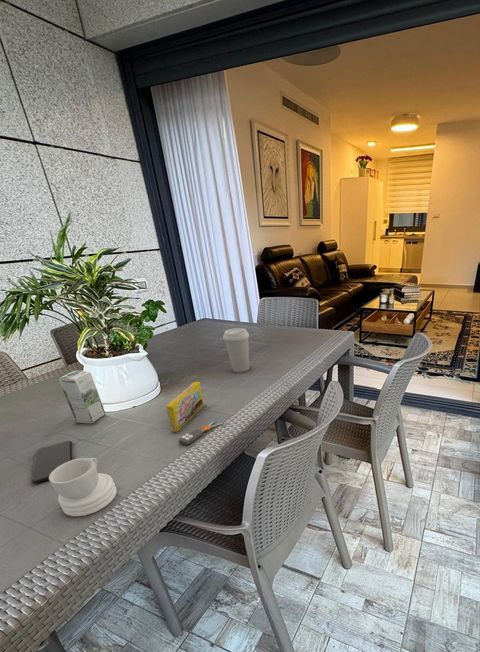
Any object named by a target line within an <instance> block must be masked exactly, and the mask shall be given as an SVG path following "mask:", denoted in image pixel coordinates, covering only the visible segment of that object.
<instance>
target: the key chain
mask: <svg viewBox="0 0 480 652" xmlns="http://www.w3.org/2000/svg"><path fill="white" fill-rule="evenodd" d="M214 423H215V422H214V421H211V422H210V423H208V424H207V425H203V426H202V427H200V429H194V430H192V431H191V432H188V433H186V434H184V435H182V436H181V437H180V438H178V443H180V444H182V445H184V446H187V445H189V444H191V443H193V442H194V441H195V440H197V439H199V438H200V437H201V436H202V435H203V434H204V432H205V431H209V430H211V428H214V427H217V426H220V425H222V424H224V422H220V423H216V424H214Z"/></svg>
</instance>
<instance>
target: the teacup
mask: <svg viewBox="0 0 480 652" xmlns="http://www.w3.org/2000/svg"><path fill="white" fill-rule="evenodd" d="M97 466H98V459H97V458H95V457H89V458H88V457H80V458H75V459H72V460H71V461H69V462H66V463H64V464H62V465H60V466H59V467H57V468H56V469H55V470H53V471H52V472H51V474H50V476H49V480H48V481H49V483H50V484H51V486H52V487H53V489H54V490H55V492H56V493H57V494H58V496H59V495H61V496H63V497H65V498H69V499H75V498H81V497H84V496H86V495H88V494H89V493H90V492H92V491H93V490H94V489H95V487H96V486H97V484H98V480H99V477H98V470H97Z"/></svg>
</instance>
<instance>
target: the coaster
mask: <svg viewBox="0 0 480 652" xmlns="http://www.w3.org/2000/svg"><path fill="white" fill-rule="evenodd" d="M97 473H98V472H97ZM98 477H99V480H98V484H97V486H96V487H95V489H94V490H93V491H92V492H90V493H89V494H88V495H86V496H84V497H81V498H75V499H69V498H65V497H63V496H61V495H59V494H58V496H57V502H58V504H59V505H60V507H61V509H62V511H63V513H64V514H66V515H67V516H70V517H84V516H85V517H86V516H89V515H91V514H94V513H96V512H99V511H100V510H102V509H104V508H106V507H107V506H108V505H109V504H111V502H113V500H114V499H115V497H116V496H117V492H118V491H117V489H118V488H117V486H116V483H115V482H114V478H113V477H112V476H110V475H109V474H107V473H100V472H99V473H98Z"/></svg>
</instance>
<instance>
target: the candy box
mask: <svg viewBox="0 0 480 652" xmlns="http://www.w3.org/2000/svg"><path fill="white" fill-rule="evenodd" d="M204 406H205V403H204V398H203V393H202V387H201V382H200V381H193V382H192V383H190V385H189V386H188V387H186V388H185V389H184V390H183V391H182V392H181V393H179V394H178V395H177V396H176V397H175V398H173V399H172V400H171V401H170V402H168V403H167V404H166V405H165V407H166V413H167V416H168V422H169V426H170V429H171V432H172V433H178V432H179V431H180V430H181V429H183V427H184V426H185V425H186V424H187V423H188V422H189V421H190V420H191V419H192V418H193V417H194V416H195V415H196V414H197V413H198V412H199V411H200V410H201V409H202V408H203V407H204Z"/></svg>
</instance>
